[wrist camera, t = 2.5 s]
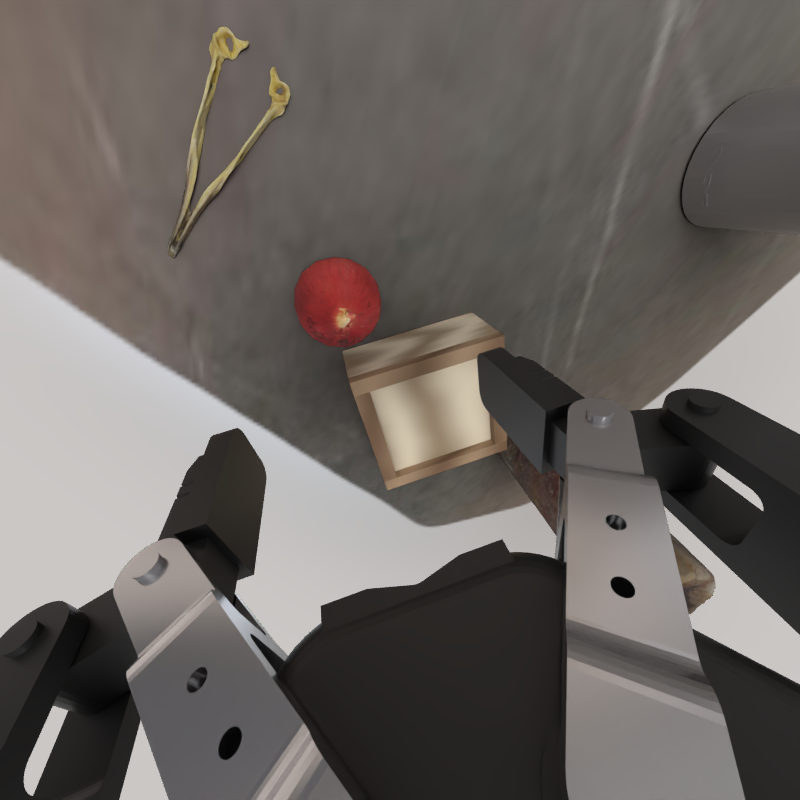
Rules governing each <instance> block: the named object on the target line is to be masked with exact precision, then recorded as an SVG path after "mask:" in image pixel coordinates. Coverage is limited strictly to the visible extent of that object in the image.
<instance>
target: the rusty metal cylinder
mask: <svg viewBox="0 0 800 800" xmlns="http://www.w3.org/2000/svg"><path fill="white" fill-rule="evenodd" d="M498 454H499V456H500V457H501V459H502V460H503V461H504V463H505V464H506V466H507V467H508V469H509V470H510V472H511V473H512V475H513V476H514V477H515V479H516V480H517V481H518V483H519V484H520V485H521V487H522V488H523V490H524V491H525V493H526V494H527V495H528V497H529V498H530V500H531V501H532V502H533V503H534V505H535V506H536V508H537V509H538V510H539V512H540V513H541V515H542V516H543V517H544V519H545V520H546V522H547V523H548V524H549V526H550V527H551V529H552V530H553V531H554V533H555V534H556V536H557V516H558V494H559V478H560V475H559V474H558V473H557V471H556V470H552V471H550V472H547V473H544V474H540V473H539V471H538V470H537V469H536V468H535V467H534V465H533V464H532V463H531V462H530V461H529V459H528V458H527V457H526V456H525V455H524V454H523V452H522V451H521V450H520V449H519V448H518V446H517V445H516V444H515V443H514V442H513V440H512V439H511V438H510V437H509V436H508V435H507V450H504V451H501V452H498ZM670 536H671V540H672V544H673V549H674V553H675V557H676V562H677V566H678V570H679V575H680V579H681V583H682V587H683V592H684V596H685V600H686V605H687V609H688V613H689V614H691V613H693V612H694V611H695V609H696V608H697V607H699V606H700V605H701V604H703V603H705V601H706V600H708V599H710V598H711V596H713V592H714V589H715V580H714V576H713V575H712V573H711V572H710V571H709V570H708V569H707V568H706V567H705V566H704V565H703V564H702V563H701V562H700V561H699V560H698V559H696V557H695V556H693V555H692V554H691V553H690V552H689V551H688V550H687V549H686V548H685V547H684V546H683V545H682V544H681V543H680V542H679V541H678V540H677V539H676V538H675V537H674V536H673V535H672V534H671V533H670Z"/></svg>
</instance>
